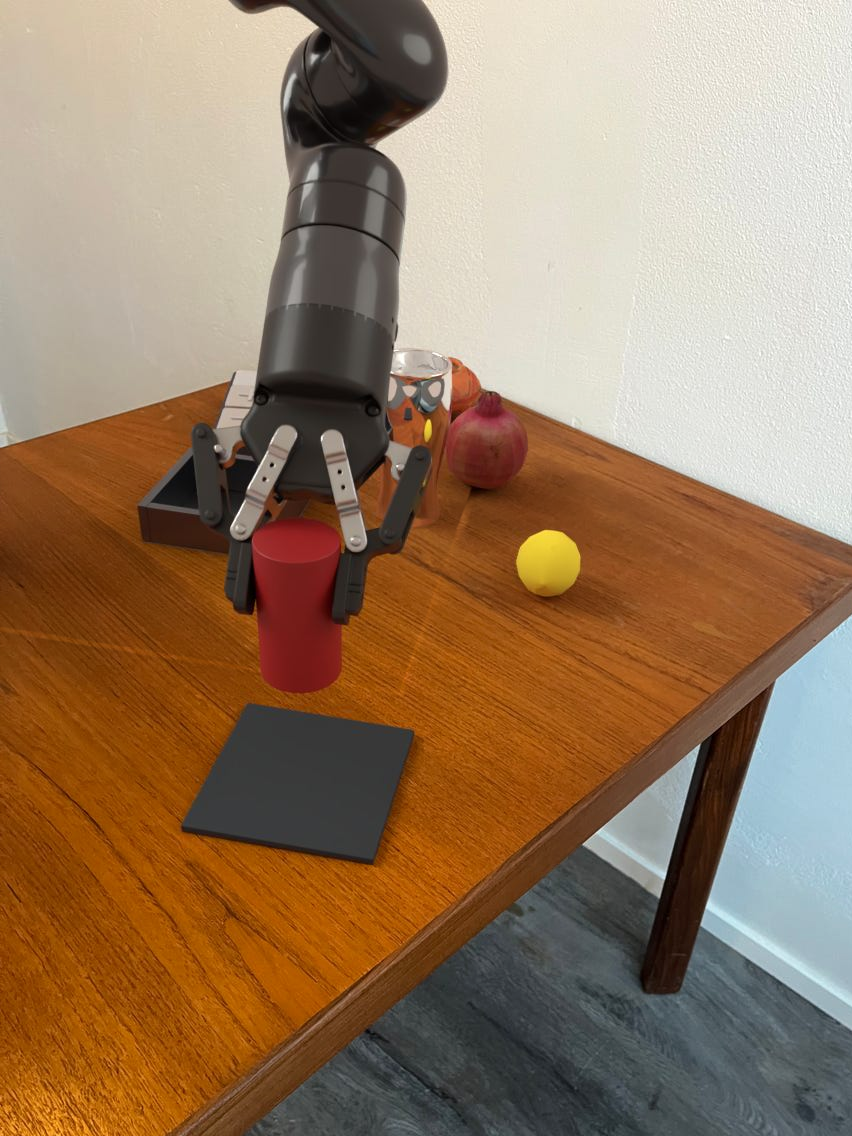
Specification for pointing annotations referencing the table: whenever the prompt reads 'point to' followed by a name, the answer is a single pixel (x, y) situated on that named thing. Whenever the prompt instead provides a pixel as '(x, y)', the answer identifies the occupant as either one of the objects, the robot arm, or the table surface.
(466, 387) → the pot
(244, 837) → the mat
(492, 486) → the fruit
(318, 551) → the canister
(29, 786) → the table surface
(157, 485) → the bin
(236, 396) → the calculator
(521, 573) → the lemon
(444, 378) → the beer glass
